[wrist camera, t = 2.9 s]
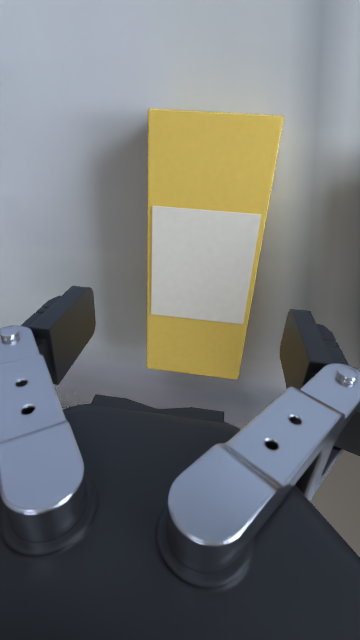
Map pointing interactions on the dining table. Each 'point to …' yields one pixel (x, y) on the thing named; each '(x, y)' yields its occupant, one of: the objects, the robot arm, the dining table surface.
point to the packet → (205, 234)
